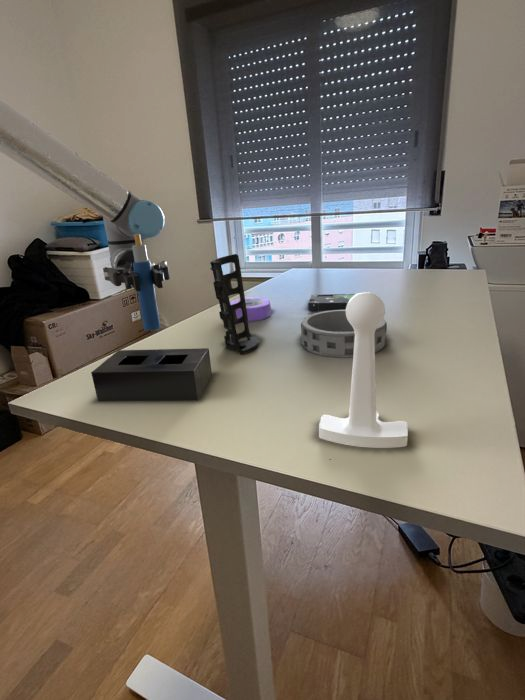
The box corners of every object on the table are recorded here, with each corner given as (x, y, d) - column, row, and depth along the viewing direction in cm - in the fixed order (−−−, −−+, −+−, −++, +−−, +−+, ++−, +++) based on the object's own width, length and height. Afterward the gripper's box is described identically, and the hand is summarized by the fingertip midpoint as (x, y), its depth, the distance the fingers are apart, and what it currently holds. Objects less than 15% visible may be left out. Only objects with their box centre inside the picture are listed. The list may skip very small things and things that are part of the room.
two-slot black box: (198, 404, 66) (193, 370, 64) (98, 404, 69) (91, 372, 67) (212, 378, 76) (208, 348, 74) (124, 379, 78) (118, 350, 76)
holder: (258, 353, 86) (241, 258, 79) (223, 358, 86) (203, 264, 80) (260, 336, 96) (245, 251, 89) (229, 341, 97) (211, 257, 90)
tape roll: (274, 319, 110) (273, 305, 109) (231, 323, 108) (230, 309, 107) (267, 308, 121) (266, 295, 119) (228, 312, 119) (227, 299, 118)
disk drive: (308, 312, 114) (362, 311, 111) (307, 303, 113) (362, 301, 110) (311, 303, 123) (361, 302, 120) (310, 294, 122) (361, 292, 119)
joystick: (317, 446, 53) (314, 297, 46) (325, 417, 60) (323, 283, 53) (407, 456, 50) (418, 297, 43) (404, 424, 57) (414, 282, 50)
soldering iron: (141, 330, 79) (124, 235, 73) (147, 325, 82) (132, 233, 76) (157, 330, 79) (141, 234, 72) (162, 325, 82) (148, 232, 75)
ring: (290, 335, 96) (290, 315, 94) (361, 325, 99) (361, 305, 98) (319, 363, 79) (319, 339, 77) (403, 349, 83) (404, 326, 81)
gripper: (170, 278, 97) (195, 296, 76) (97, 287, 91) (104, 309, 70) (165, 246, 94) (190, 255, 74) (90, 253, 88) (95, 266, 68)
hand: (148, 282), depth 72 cm, fingers closed on soldering iron, 3 cm apart
